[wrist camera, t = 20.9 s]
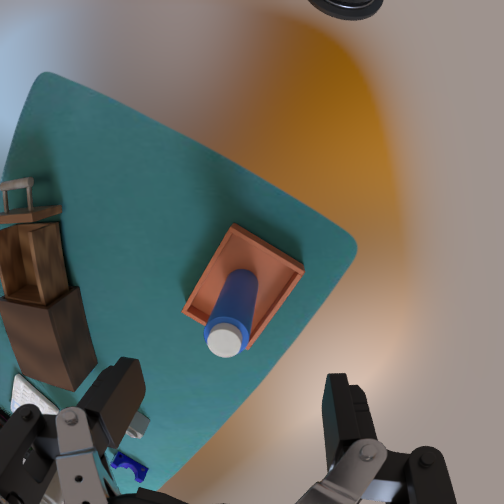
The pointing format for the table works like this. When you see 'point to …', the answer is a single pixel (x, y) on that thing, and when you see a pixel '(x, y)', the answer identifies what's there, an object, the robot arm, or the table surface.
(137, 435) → the lighter
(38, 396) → the calculator
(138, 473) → the cable holder
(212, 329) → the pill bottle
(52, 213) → the drawer
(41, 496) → the robot arm
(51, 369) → the cabinet
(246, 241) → the tray
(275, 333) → the table surface
